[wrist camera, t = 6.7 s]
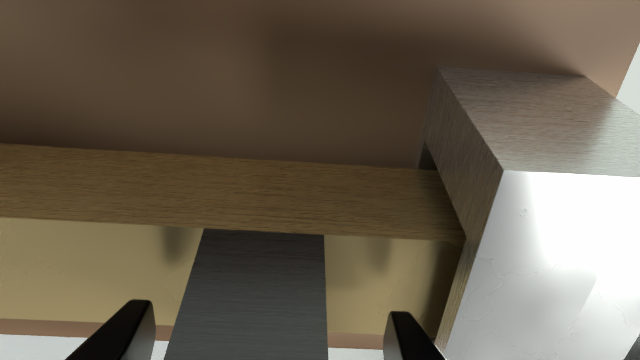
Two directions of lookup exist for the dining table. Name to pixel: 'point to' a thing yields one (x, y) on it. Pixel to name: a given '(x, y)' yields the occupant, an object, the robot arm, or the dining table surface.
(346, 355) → the dining table surface
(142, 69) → the board
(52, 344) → the dining table surface
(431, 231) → the brass t-shaped handle
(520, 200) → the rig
